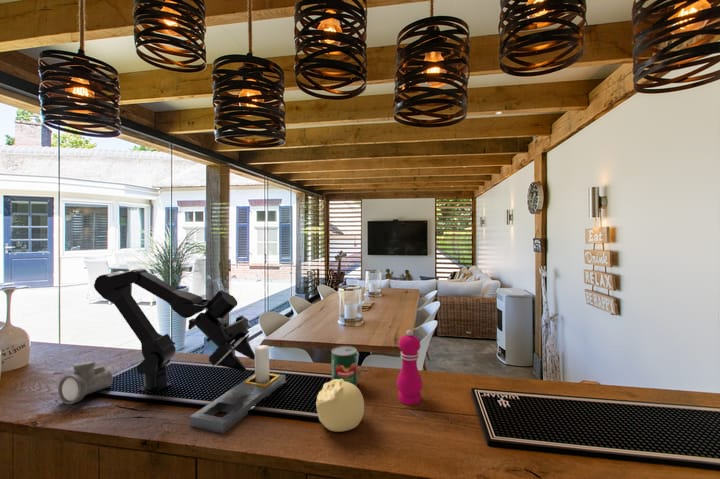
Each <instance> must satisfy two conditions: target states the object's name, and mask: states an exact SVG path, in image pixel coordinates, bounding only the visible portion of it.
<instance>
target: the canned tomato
mask: <svg viewBox="0 0 720 479" xmlns="http://www.w3.org/2000/svg"><path fill="white" fill-rule="evenodd" d="M357 351H358V350H357V348H356V347H355V346H350V345H340V346H336V347H334V348H332V349H331V381H332V380H334V379H343V380H344V381H345V382H349V383H352V384H353V385H355V386H356V387H357V386H358V377H357V376H358V373H357V372H358V361H357V360H358V358H357V356H358V354H357V353H358V352H357Z"/></svg>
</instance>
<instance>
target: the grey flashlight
mask: <svg viewBox="0 0 720 479" xmlns="http://www.w3.org/2000/svg"><path fill="white" fill-rule="evenodd" d="M95 365H96V361H95V360H87V361H82V362H81V361H80V362H77V363H75V364H73V366H72V367H73V372H74V373H71V374H67V375H65V376H63V377H62V378H61V379H60V380H59V384H58V386H57V387H58V388H57V392H58V396H59V399H60V400H61V402H62V403H63V404H64V405H74V404H76V403H79V402H80V401H82V400H83V399H84V398H85V396H87V395H89V394H93V393H96V392H99V391H102V390H104V389H107V388H109V387H110V386H111V385H112V384H113V381H114V376H113V373H112V372H113V371H111V370H110V369H109V368H106V367H105V365H102V364H99V365H96V366H95Z"/></svg>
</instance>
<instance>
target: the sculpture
mask: <svg viewBox="0 0 720 479" xmlns="http://www.w3.org/2000/svg"><path fill="white" fill-rule="evenodd" d="M322 386H323V387H322V389H321V390H320V391H319V392H318V394H317V395H316V402H315V406H316V413H317V414H318V420H319V422H320V423H321V424H322V426H324V427H325V428H326V429H327V430H328V431H331V432H335V433H336V432H338V433H339V432H340V433H341V432H346V431H351V430H352V429H354V428H357V426H359V424H360V423H361V421H362V419H363V416H364V412H365V401H364V397H363V393H361V390H360V389H359V388H358V387H357V386H355V385H353V384H352V383H349V382H345V381H344V380H343V379H334V380H332V379H331V380H330V381H327V382H325V383H323V385H322Z"/></svg>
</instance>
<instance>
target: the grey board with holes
mask: <svg viewBox="0 0 720 479" xmlns="http://www.w3.org/2000/svg"><path fill="white" fill-rule="evenodd" d="M269 378H270V381H269V382H268V383H266V384H260V383H255V373H254V374H252V375H251V376H248V377H247V378H245V379H244V380H243V381H242V382H241V381H240V383H239V384H237V385H235V386H234V387H232V388H231V389H229V390H228V391H226V392H225V393H223V394H221V395H220V396H219V397H217V398H216V399H213V400H212V401H211V402H209V403H208V404H207V405H205V406H204V407H202V408H200V409H198V410H197V411H196V412H194V413H193V414H191V415H190V416H189V419H190V423H189V424H190V427H193V428H198V429H202V430H204V431H205V430H206V431H210V432H215V433H218V434H225V433H227V431H229V430H230V429H231V428H232V427H233V426H235V425H236V424H238V422H240V421H241V420H242V419H243V418H244V417H246V416H247V415H248V414H249V413H248V411H249V409H250V408H251V407H252V406H254V405H255V404H256V403H258V402H259V401H261V400H262V399H263V398H265V397H266V396H268V395H269V394H271V393H272V392H273V391H275V390H276V389H277V388H279V387H280V386H281V387H283V386H284V385H285V384H286V382H287V381H286V374H278V373H273V372H269ZM284 383H285V384H284ZM283 384H284V385H283ZM282 385H283V386H282ZM281 387H280V388H281ZM280 388H279V389H280ZM276 391H277V390H276ZM276 391H275V392H276ZM271 395H272V394H271ZM219 412H221V413H226V414H225V415H223V416H222V417H221V416H220V417H219V416H216V414H218V413H219Z"/></svg>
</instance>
